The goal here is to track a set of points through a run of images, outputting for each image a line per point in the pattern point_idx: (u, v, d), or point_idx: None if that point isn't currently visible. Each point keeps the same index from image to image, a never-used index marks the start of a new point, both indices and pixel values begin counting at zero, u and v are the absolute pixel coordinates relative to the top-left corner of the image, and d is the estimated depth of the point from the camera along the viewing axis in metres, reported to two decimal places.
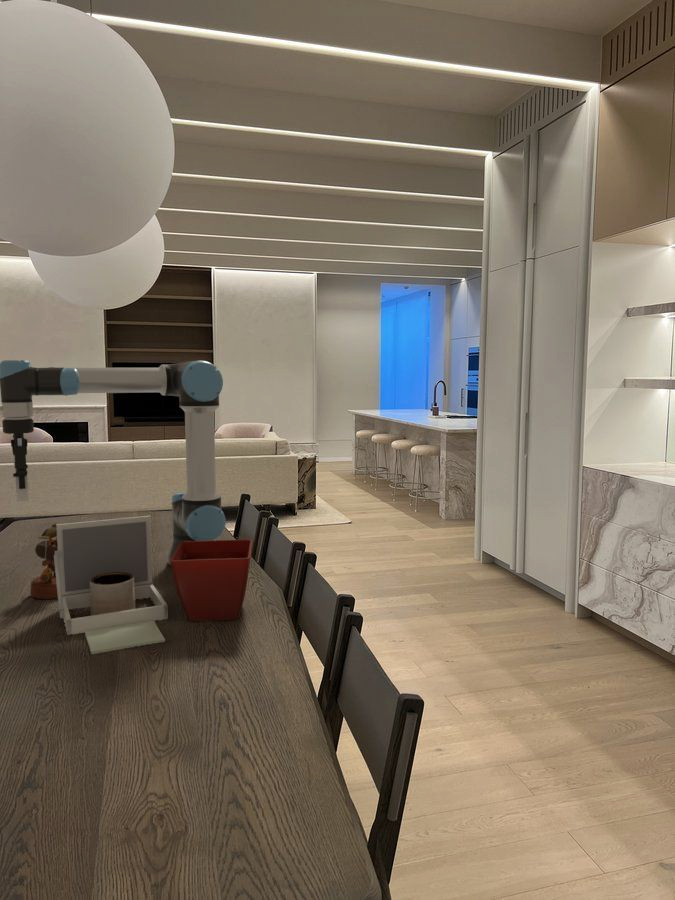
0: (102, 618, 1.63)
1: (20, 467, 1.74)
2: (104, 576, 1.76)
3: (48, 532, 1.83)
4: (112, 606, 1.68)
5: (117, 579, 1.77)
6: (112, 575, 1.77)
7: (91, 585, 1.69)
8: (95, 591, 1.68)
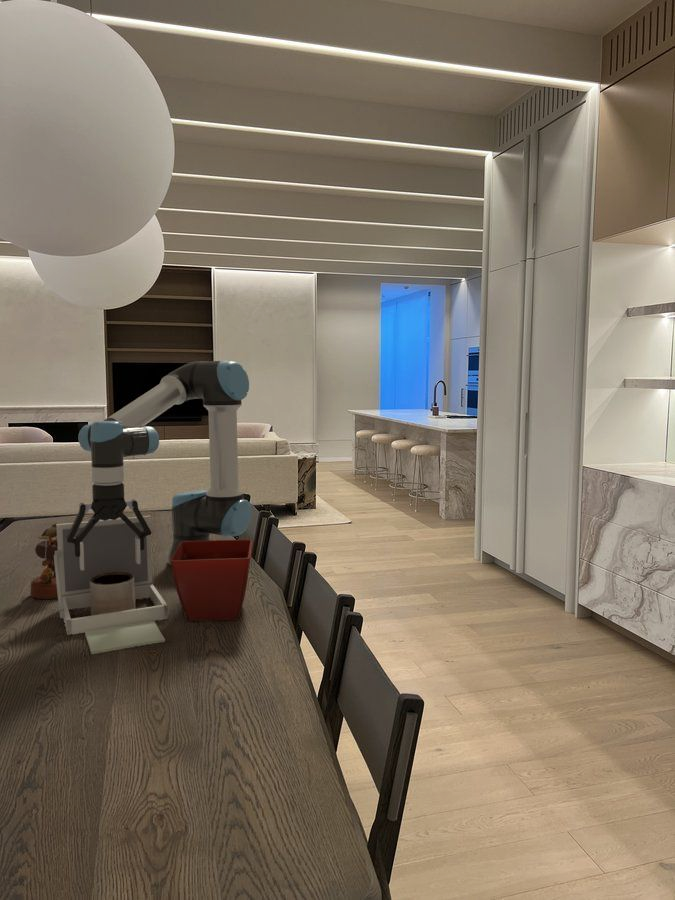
0: (102, 618, 1.63)
1: (68, 534, 1.67)
2: (104, 576, 1.76)
3: (48, 532, 1.83)
4: (112, 606, 1.68)
5: (117, 579, 1.77)
6: (112, 575, 1.77)
7: (91, 585, 1.69)
8: (95, 591, 1.68)
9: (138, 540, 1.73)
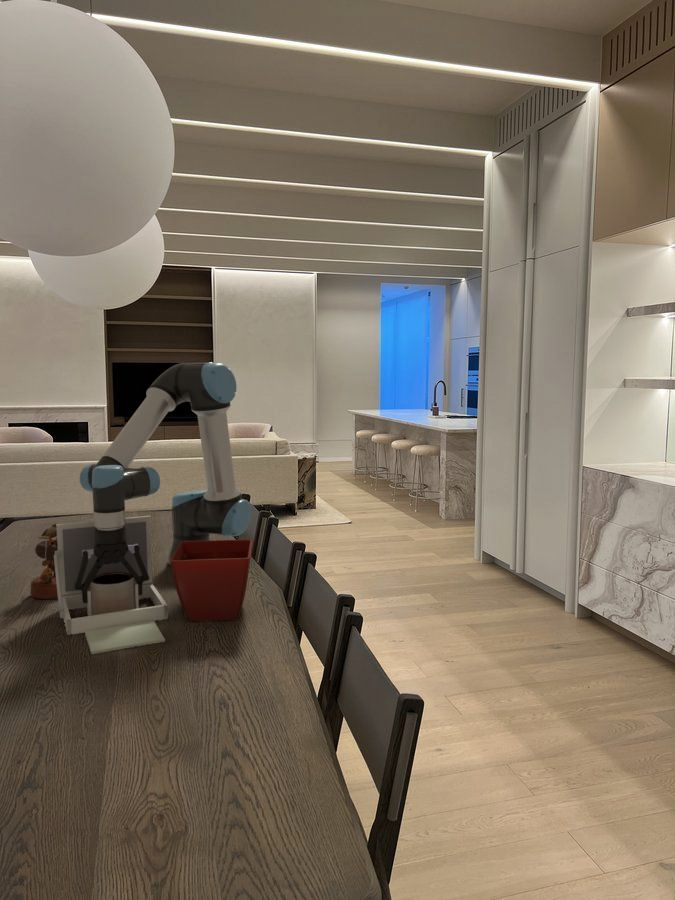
0: (102, 618, 1.63)
1: (75, 581, 1.69)
2: (104, 576, 1.76)
3: (48, 532, 1.83)
4: (112, 605, 1.68)
5: (116, 579, 1.77)
6: (112, 575, 1.77)
7: (91, 585, 1.69)
8: (95, 591, 1.68)
9: (136, 586, 1.74)
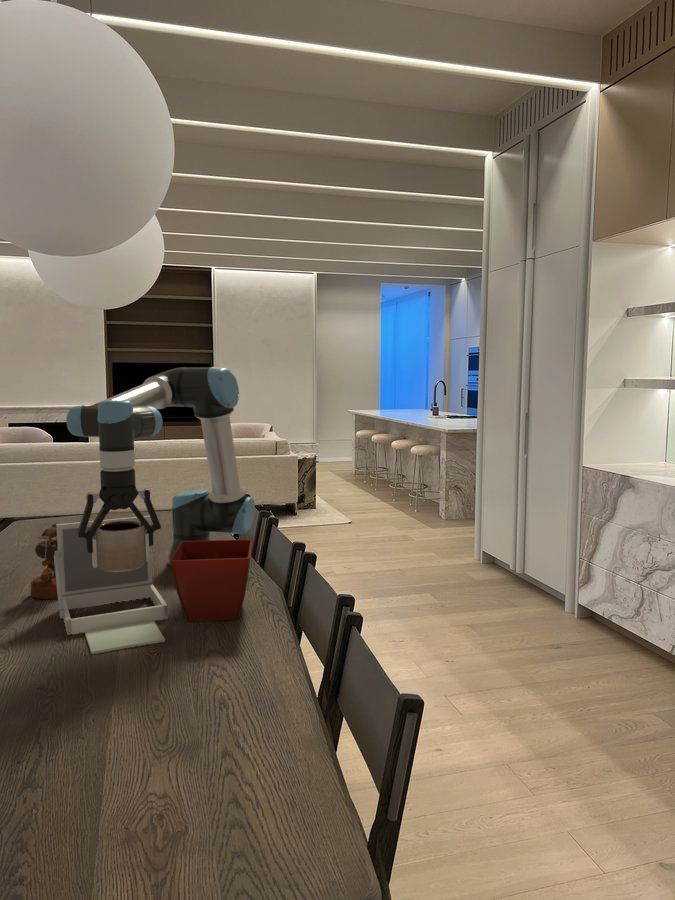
0: (102, 618, 1.63)
1: (79, 528, 1.52)
2: (111, 524, 1.58)
3: (48, 532, 1.83)
4: (120, 555, 1.51)
5: (124, 528, 1.60)
6: (120, 523, 1.59)
7: (96, 532, 1.52)
8: (101, 539, 1.51)
9: (146, 535, 1.57)
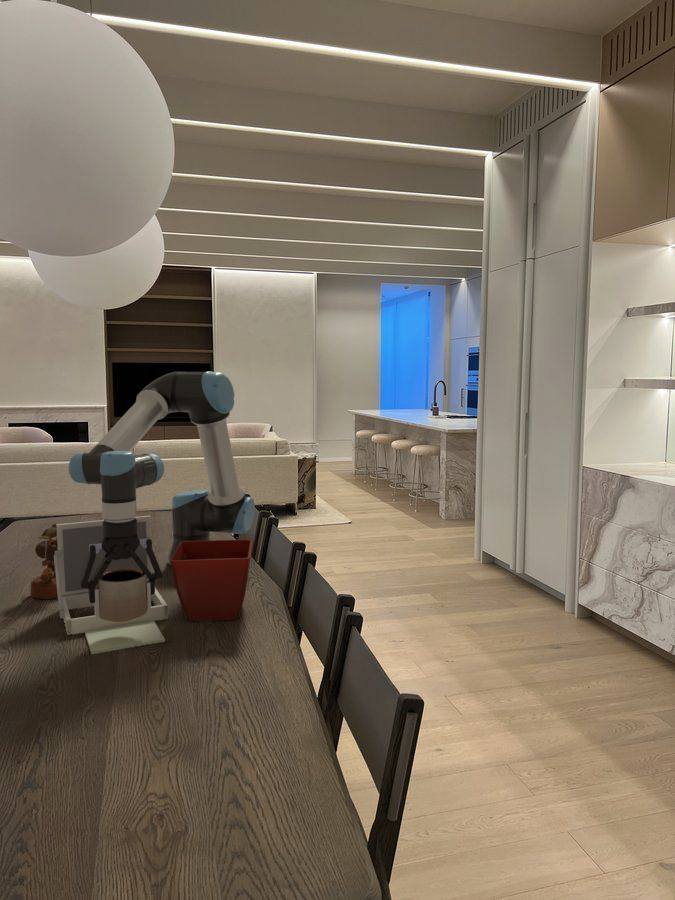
0: None
1: (81, 578, 1.53)
2: (113, 573, 1.60)
3: (48, 532, 1.83)
4: (122, 605, 1.52)
5: (126, 576, 1.61)
6: (121, 572, 1.61)
7: (99, 583, 1.53)
8: (103, 589, 1.52)
9: (148, 584, 1.58)
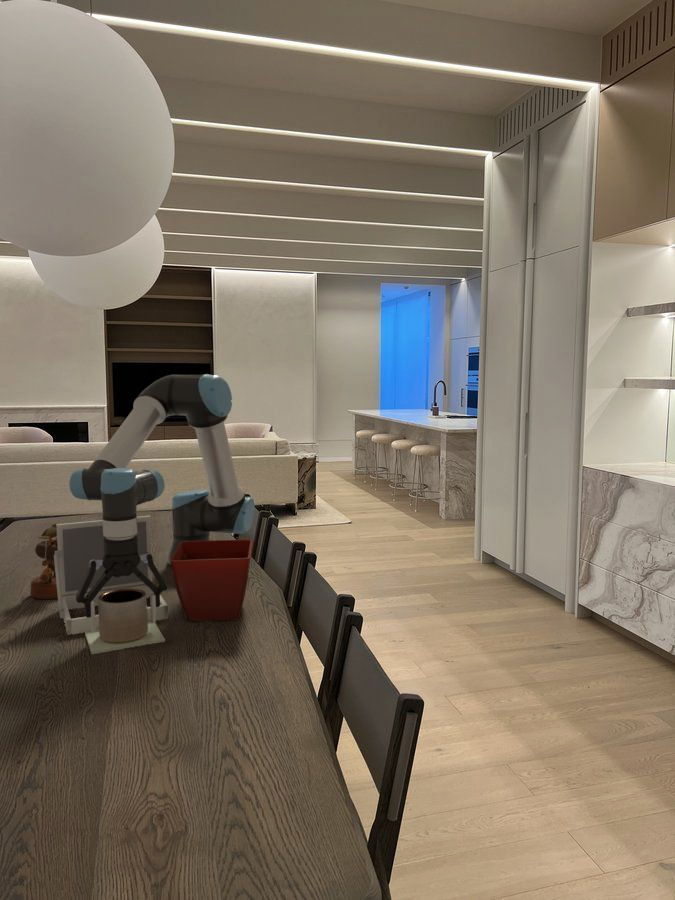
0: None
1: (78, 593, 1.53)
2: (113, 593, 1.60)
3: (48, 532, 1.83)
4: (123, 626, 1.53)
5: (127, 596, 1.62)
6: (122, 591, 1.61)
7: (100, 603, 1.54)
8: (104, 610, 1.53)
9: (153, 597, 1.59)
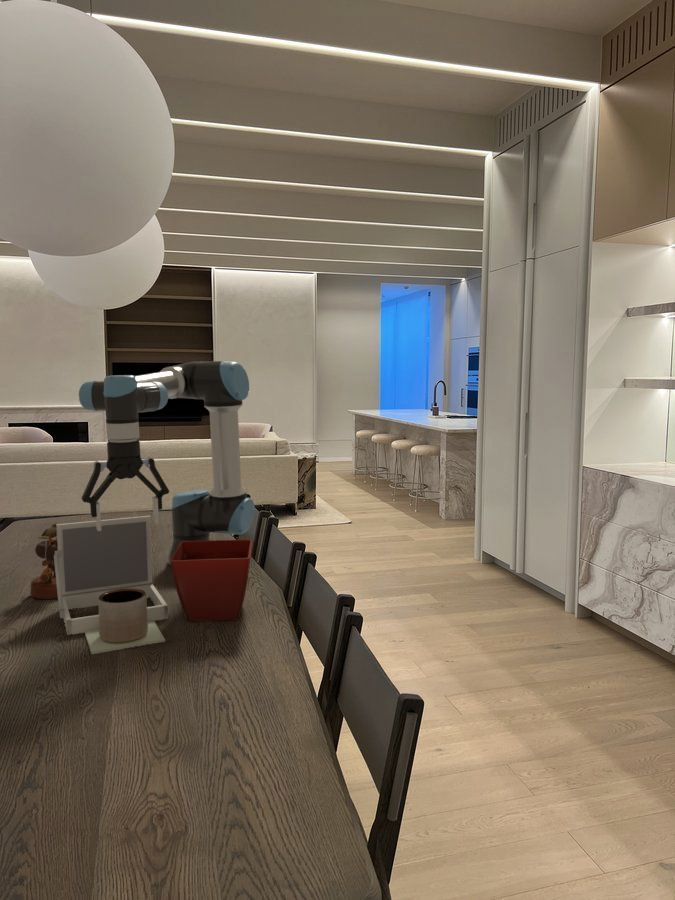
0: None
1: (84, 493, 1.60)
2: (113, 593, 1.60)
3: (48, 532, 1.83)
4: (123, 626, 1.53)
5: (127, 596, 1.62)
6: (122, 591, 1.61)
7: (100, 603, 1.54)
8: (104, 610, 1.53)
9: (156, 499, 1.67)
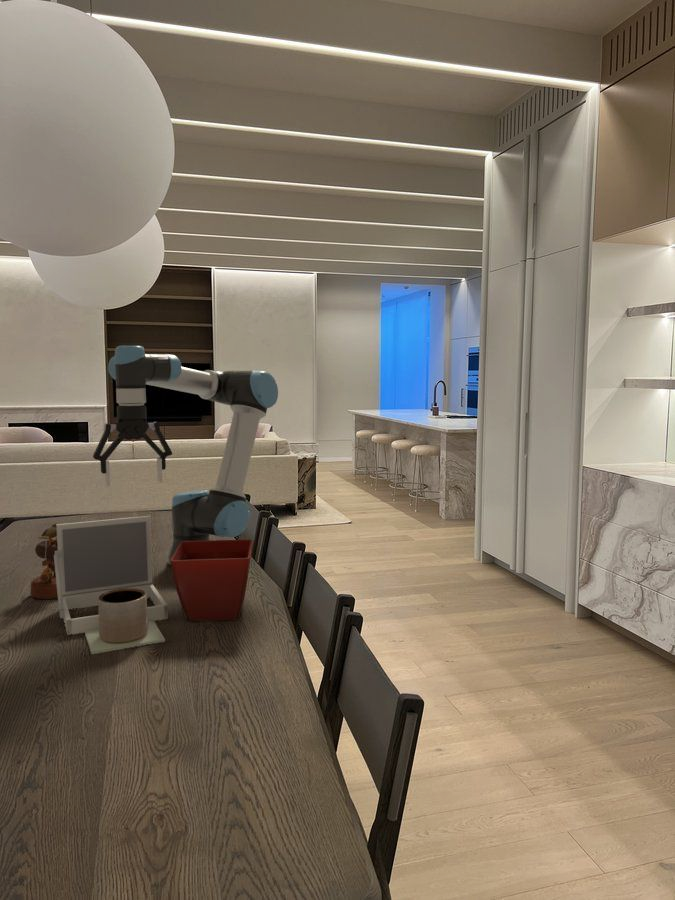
0: None
1: (95, 451, 1.77)
2: (113, 593, 1.60)
3: (48, 532, 1.83)
4: (123, 626, 1.53)
5: (127, 596, 1.62)
6: (122, 591, 1.61)
7: (100, 603, 1.54)
8: (104, 610, 1.53)
9: (160, 460, 1.83)
